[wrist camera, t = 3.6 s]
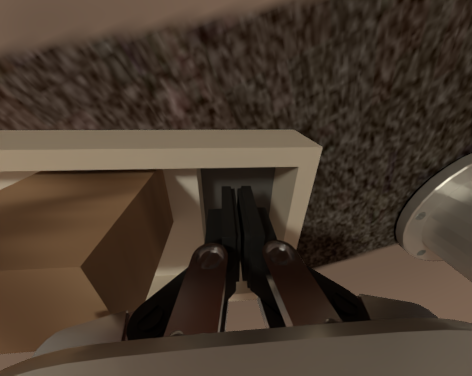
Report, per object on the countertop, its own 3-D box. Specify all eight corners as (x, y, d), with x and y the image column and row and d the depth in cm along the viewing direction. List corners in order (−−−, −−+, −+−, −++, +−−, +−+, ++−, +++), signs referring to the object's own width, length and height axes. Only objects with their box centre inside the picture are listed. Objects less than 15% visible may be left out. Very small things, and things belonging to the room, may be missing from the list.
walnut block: (161, 163, 11) (79, 266, 5) (173, 221, 13) (130, 343, 7) (54, 164, 10) (-194, 280, 4) (85, 225, 12) (-45, 357, 6)
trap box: (293, 129, 12) (322, 147, 9) (272, 258, 19) (283, 297, 15) (-140, 130, 10) (-321, 152, 7) (2, 271, 17) (-55, 319, 13)
